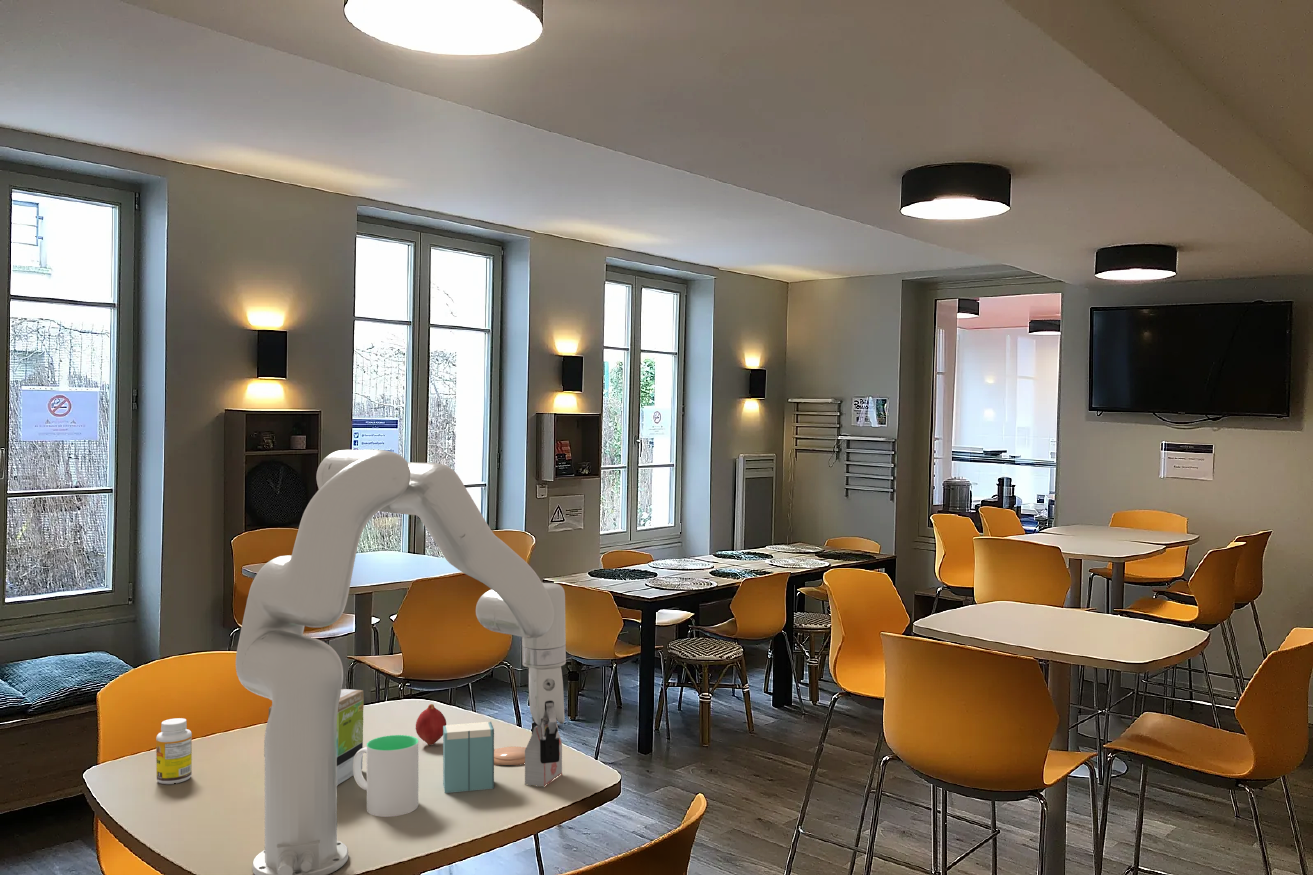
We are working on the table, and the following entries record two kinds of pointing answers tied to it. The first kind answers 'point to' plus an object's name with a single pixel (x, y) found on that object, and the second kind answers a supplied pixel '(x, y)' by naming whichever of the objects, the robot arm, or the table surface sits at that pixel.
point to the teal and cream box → (468, 757)
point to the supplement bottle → (174, 752)
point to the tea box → (348, 731)
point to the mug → (389, 775)
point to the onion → (430, 725)
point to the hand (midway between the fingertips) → (545, 753)
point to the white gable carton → (534, 768)
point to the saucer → (509, 756)
